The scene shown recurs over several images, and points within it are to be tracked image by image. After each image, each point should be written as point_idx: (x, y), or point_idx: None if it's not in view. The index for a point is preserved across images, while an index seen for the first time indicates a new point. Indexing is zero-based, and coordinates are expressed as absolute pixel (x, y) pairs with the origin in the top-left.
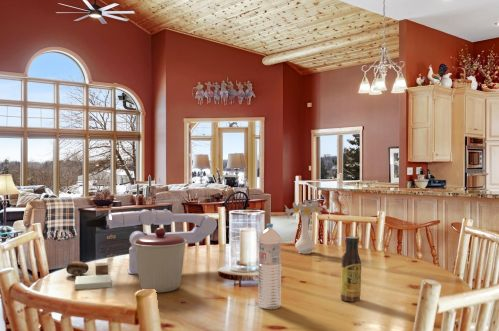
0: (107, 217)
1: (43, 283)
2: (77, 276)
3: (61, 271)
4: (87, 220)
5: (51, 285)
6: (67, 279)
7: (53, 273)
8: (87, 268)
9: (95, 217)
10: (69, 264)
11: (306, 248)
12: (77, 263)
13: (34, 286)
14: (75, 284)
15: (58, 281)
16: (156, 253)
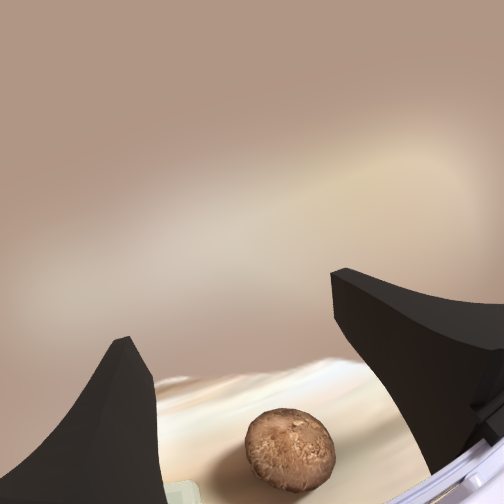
0: (452, 490)
1: (188, 396)
2: (188, 484)
3: (365, 373)
4: (124, 341)
5: (157, 425)
6: (234, 447)
7: (330, 365)
8: (289, 491)
9: (396, 317)
10: (255, 419)
11: None
12: (252, 449)
13: (157, 387)
14: None
15: (207, 429)
16: None
